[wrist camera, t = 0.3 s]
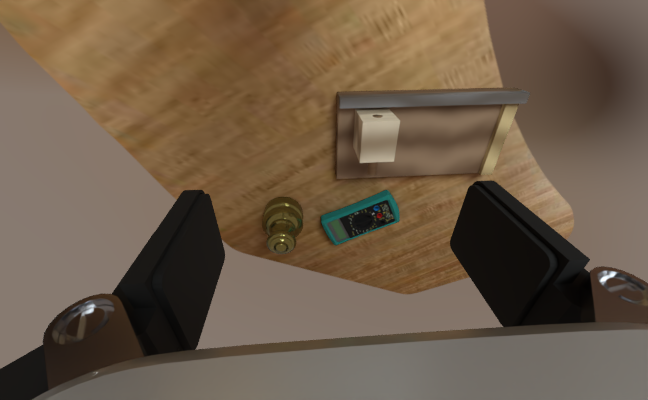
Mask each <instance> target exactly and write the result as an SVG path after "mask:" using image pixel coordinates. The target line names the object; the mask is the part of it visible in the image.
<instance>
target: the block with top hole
mask: <svg viewBox="0 0 648 400" xmlns="http://www.w3.org/2000/svg"><path fill="white" fill-rule="evenodd" d="M399 125H400V120H399V119H398V118H397V117H396V116H395V115H394V114H393V112H392V111H391V110H390V109H389V108H362V109H355V121H354V138H353V147H354V150H355V152H356V155H357V157H358V160H359V162H360V163H368V164H367V165H368V170H367V174H368V175H376V171H377V162H394V158H395V151H396V145H397V138H398V132H399Z"/></svg>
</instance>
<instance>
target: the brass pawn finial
mask: <svg viewBox="0 0 648 400" xmlns="http://www.w3.org/2000/svg"><path fill="white" fill-rule="evenodd" d="M262 227H263V230H264V232H265V233H266V234H267V235H268V238H267V241H266V243H267V247H268V249H269V250H270V251H272V252H274V253H277V254H286V253H289V252H291V251H292V250H293V249H294V248H295V246H296V239H295V237H297V236H298V235H299V234H300V233H301V231H302V229H303V211H302V207H301V206H300V204H299V203H298V202H297V201H295V200H294V199H291V198H288V197H279V198H275V199H273V200H271V201H270V202H269V203H268V204H267V205H266V207H265V212H264V215H263V221H262Z"/></svg>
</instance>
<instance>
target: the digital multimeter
mask: <svg viewBox="0 0 648 400" xmlns="http://www.w3.org/2000/svg"><path fill="white" fill-rule="evenodd" d="M361 209H362V210H361ZM356 211H357V212H356ZM397 222H399V209H398V206H397V204H396V202H395V200H394V198H393V197H392V195H391V194H390V192H389V191H388V190H385V191H382V192H380V193H378V194H376V195H374V196H371V197H369V198H366V199H364V200H362V201H359V202H357V203H355V204H352V205H349V206H347V207H344V208H342V209H339V210H336V211H333V212H330V213H328V214H325V215H322V216H321V223H322V226H323V228H324V230H325V232H326V234H327V235H328V237H329V238H330V240H331V241H332V242H333V244H334V245H338V244H341V243H343V242H346V241H348V240H351V239H353V238H356V237H358V236H361V235H364V234H366V233H369V232H371V231H374V230H377V229H380V228H383V227H385V226H388V225H391V224H394V223H397Z"/></svg>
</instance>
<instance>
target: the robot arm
mask: <svg viewBox="0 0 648 400" xmlns="http://www.w3.org/2000/svg"><path fill="white" fill-rule="evenodd" d="M450 246H451V249H452V251H453V252H454V254H455V255H456V257H457V258H458V260H459V261H460V263H461V264H462V266H463V267H464V269H465V270H466V272H467V273H468V275H469V276H470V278H471V279H472V281H473V282H474V284H475V285H476V287H477V288H478V290H479V291H480V293H481V294H482V296H483V297H484V299H485V301H486V302H487V303H488V305H489V306H490V308H491V310H492V311H493V313H494V314H495V316H496V317H497V319H498V320H499V322H500V323H501V324H502V326H503V327H498V328H484V329H466V330H452V331H436V332H421V333H406V334H393V335H378V336H364V337H349V338H335V339H322V340H308V341H294V342H281V343H269V344H268V343H267V344H255V345H242V346H232V347H220V348H210V349H199V350H195V349H196V347H197V345H198V342H199V339H200V336H201V333H202V329H203V326H204V323H205V320H206V317H207V314H208V310H209V307H210V304H211V301H212V298H213V294H214V292H215V288H216V285H217V282H218V279H219V276H220V273H221V269H222V266H223V263H224V259H225V251H224V247H223V243H222V239H221V236H220V232H219V228H218V224H217V220H216V217H215V213H214V209H213V205H212V201H211V198H210V195H209V194H205V193H204V192H203V190H185V191H183V192H182V193H181V195H180V196H179V198H178V199H177V201H176V202H175V204H174V205H173V207H172V208H171V210H170V211H169V212H168V214H167V215H166V217H165V218H164V220H163V221H162V223H161V224H160V225H159V227H158V229H157V230H156V231H155V232H154V234H153V235H152V236H151V238H150V239H149V241H148V242H147V244H146V245H145V246H144V248H143V249H142V251H141V252H140V254H139V255H138V257H137V258H136V260H135V261H134V263H133V264H132V265H131V267H130V268H129V270H128V271H127V273H126V274H125V276H124V277H123V278H122V280H121V281H120V283H119V284H118V286H117V287H116V288H115V290H114V292H113V293H112V294H98V295H93V296H89V297H87V298H84V299H82V300H79V301H78V302H76V303H74V304H72V305H70V306H69V307H67V308H66V309H65V310H63V311H62V312H61V313H60V314H58V315H57V316H56V317H55V318H54V320H53V321H52V322H51V323H50V324H49V325H48V327H47V329H46V331H45V332H44V337H43V345H42V346H40V347H38V348H36V349H35V350H33V351H31V352H29V353H28V354H26V355H24V356H23V357H21V358H19V359H17V360H16V361H14V362H12V363H10V364H8V365H7V366H5V367H3V368H1V369H0V400H648V283H647V282H645V281H644V280H642V279H640V278H638V277H636V276H634V275H632V274H630V273H627V272H625V271H623V270H619V269H616V268H612V267H604V266H601V267H596V268H594V269H592V270H591V271H590V272H588V271H586V270H585V269H584V267H585V266H586V264H587V263H588V262H589V260H590V259H589V258H588V257H586V256H585V255H584V254H583V253H582V252H580V251H579V250H578V249H577V248H575V247H574V246H573V245H572V244H571V243H569V242H568V241H567V240H566V239H564V238H563V237H562V236H561V235H560V234H558V233H557V232H556V231H555V230H554V229H552V228H551V227H550V226H549V225H547V224H546V223H545V222H544V221H543V220H541V219H540V218H539V217H538V216H536V215H535V214H534V213H533V212H532V211H530V210H529V209H528V208H527V207H525V206H524V205H523V204H522V203H521V202H519V201H518V200H517V199H516V198H514V197H513V196H512V195H511V194H510V193H508V192H507V191H506V190H505V189H504V188H502V187H501V186H500V185H499V184H497V183H496V182H495V181H476V182H475V183H474V184H473V185H471V186H470V187H469V188H468V191H467V194H466V197H465V199H464V202H463V205H462V208H461V211H460V214H459V217H458V220H457V223H456V226H455V228H454V231H453V234H452V237H451V240H450Z"/></svg>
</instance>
